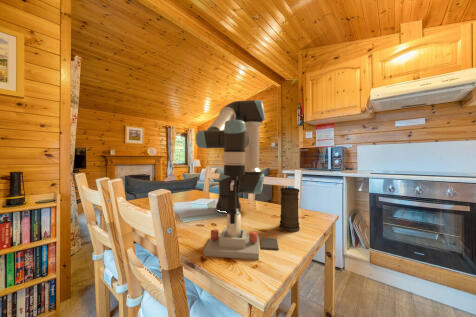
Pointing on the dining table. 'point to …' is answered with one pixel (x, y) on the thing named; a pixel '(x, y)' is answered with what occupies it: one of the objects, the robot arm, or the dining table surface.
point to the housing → (233, 246)
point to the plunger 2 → (253, 237)
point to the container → (289, 210)
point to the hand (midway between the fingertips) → (233, 228)
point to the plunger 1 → (214, 234)
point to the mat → (269, 243)
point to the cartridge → (238, 234)
